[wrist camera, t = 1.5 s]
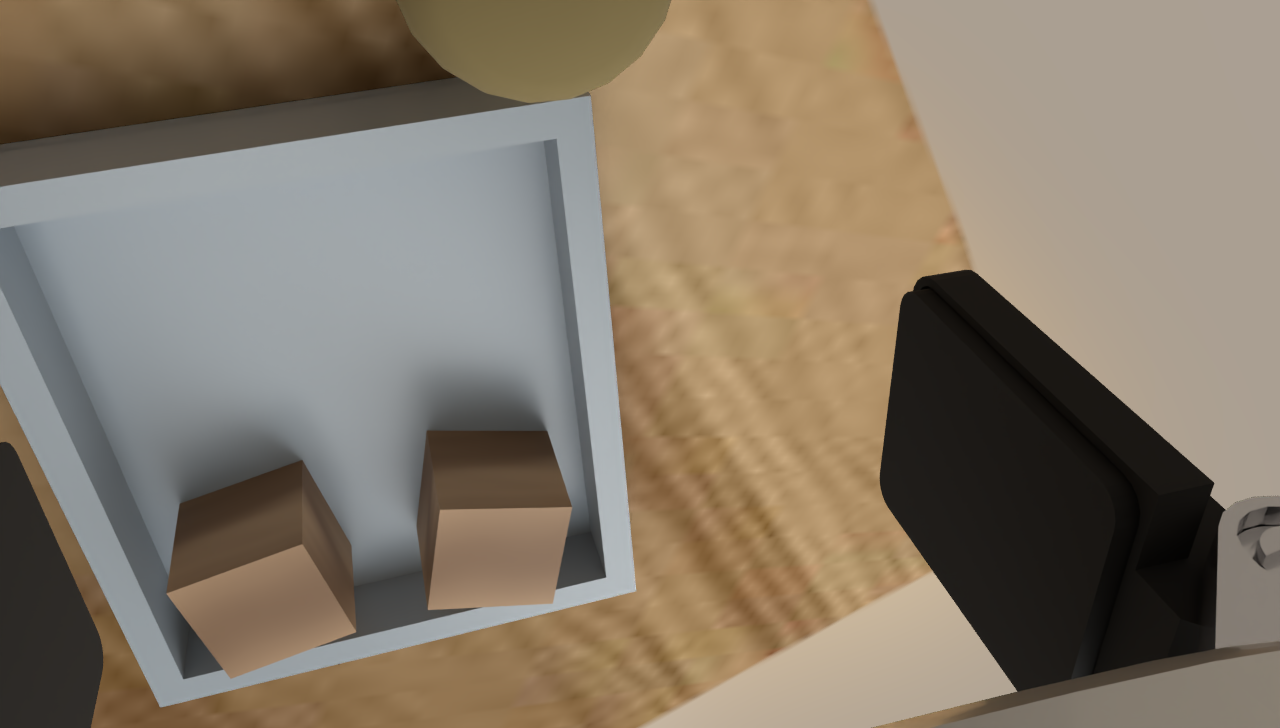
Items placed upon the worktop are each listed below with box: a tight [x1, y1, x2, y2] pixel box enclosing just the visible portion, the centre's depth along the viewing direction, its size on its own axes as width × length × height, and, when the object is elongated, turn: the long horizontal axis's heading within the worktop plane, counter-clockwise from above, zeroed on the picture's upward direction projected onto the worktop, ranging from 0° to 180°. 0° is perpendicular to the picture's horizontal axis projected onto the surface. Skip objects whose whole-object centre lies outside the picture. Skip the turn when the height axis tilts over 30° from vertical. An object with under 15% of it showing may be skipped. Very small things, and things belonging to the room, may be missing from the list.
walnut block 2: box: [416, 431, 572, 610], centre depth 34 cm, size 4×4×4 cm
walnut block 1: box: [166, 460, 356, 679], centre depth 33 cm, size 4×4×4 cm
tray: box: [0, 77, 636, 707], centre depth 32 cm, size 18×16×3 cm
